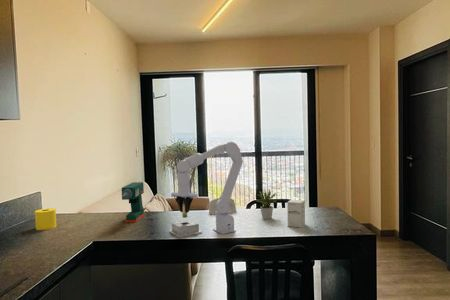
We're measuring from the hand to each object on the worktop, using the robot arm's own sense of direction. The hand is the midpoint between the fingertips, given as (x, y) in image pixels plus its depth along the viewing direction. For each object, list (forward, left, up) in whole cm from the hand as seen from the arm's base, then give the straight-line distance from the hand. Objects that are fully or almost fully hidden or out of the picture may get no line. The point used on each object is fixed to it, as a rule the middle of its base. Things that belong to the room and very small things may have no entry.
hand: (184, 212), depth 171 cm
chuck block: (-1, +1, -10) cm, 10 cm away
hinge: (+26, -36, -10) cm, 46 cm away
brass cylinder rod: (0, 0, -2) cm, 3 cm away
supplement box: (-23, -51, -10) cm, 57 cm away
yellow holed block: (+54, +59, -10) cm, 80 cm away
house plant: (-3, -48, -10) cm, 50 cm away
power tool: (+39, +16, -10) cm, 43 cm away
